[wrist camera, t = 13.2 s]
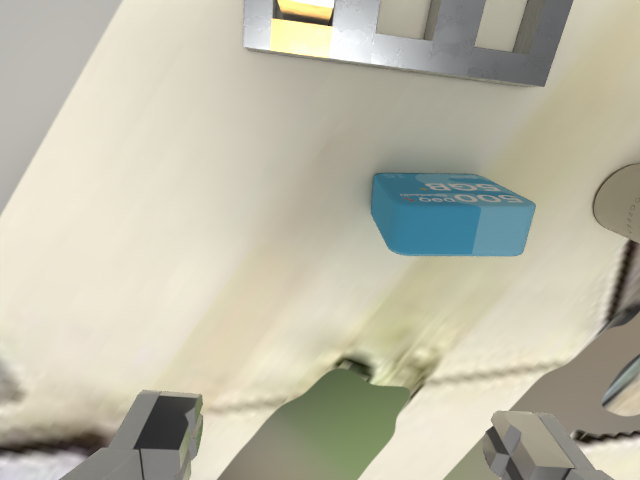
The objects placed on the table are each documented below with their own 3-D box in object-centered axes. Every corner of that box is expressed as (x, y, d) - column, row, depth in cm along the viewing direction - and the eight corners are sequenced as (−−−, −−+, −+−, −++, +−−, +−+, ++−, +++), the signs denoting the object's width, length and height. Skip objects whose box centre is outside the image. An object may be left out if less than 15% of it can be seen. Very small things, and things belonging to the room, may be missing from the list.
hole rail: (563, -33, 32) (590, -46, 29) (525, 87, 35) (545, 86, 32) (252, -83, 29) (246, -102, 26) (248, 50, 33) (242, 46, 30)
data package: (478, 173, 39) (545, 206, 28) (470, 212, 41) (531, 257, 30) (371, 172, 38) (397, 205, 27) (368, 211, 40) (391, 256, 29)
